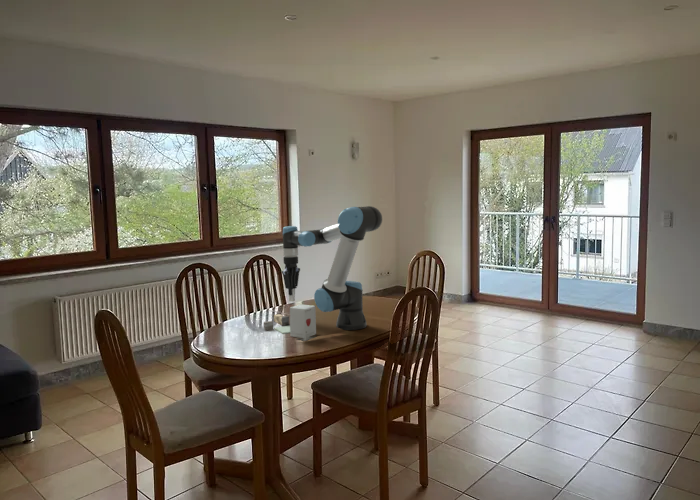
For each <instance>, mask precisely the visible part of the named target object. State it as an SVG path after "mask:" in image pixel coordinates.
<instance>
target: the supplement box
mask: <svg viewBox="0 0 700 500" xmlns="http://www.w3.org/2000/svg"><path fill="white" fill-rule="evenodd" d="M316 313H317V312H316V305H312V304H311V305H309V304H301V303H300V304H298V305H293V306H290V307H289V326H290V333H289V334H290V335H289V336H290V337H292V338H293V337H294V338H297V339H296V341H303V342H306V341H309V340H312V339H314V338H316V337H317V322H316V319H317V317H316Z"/></svg>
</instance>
